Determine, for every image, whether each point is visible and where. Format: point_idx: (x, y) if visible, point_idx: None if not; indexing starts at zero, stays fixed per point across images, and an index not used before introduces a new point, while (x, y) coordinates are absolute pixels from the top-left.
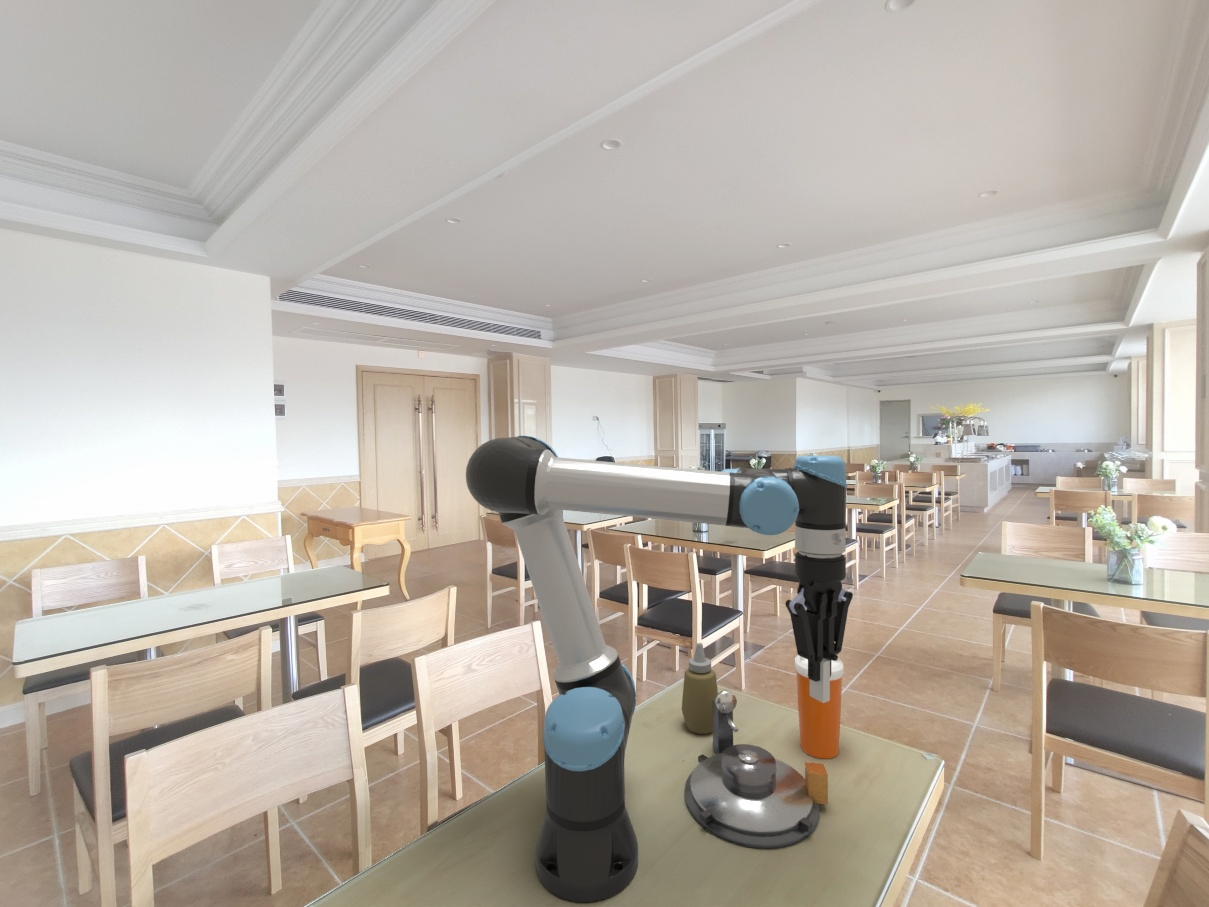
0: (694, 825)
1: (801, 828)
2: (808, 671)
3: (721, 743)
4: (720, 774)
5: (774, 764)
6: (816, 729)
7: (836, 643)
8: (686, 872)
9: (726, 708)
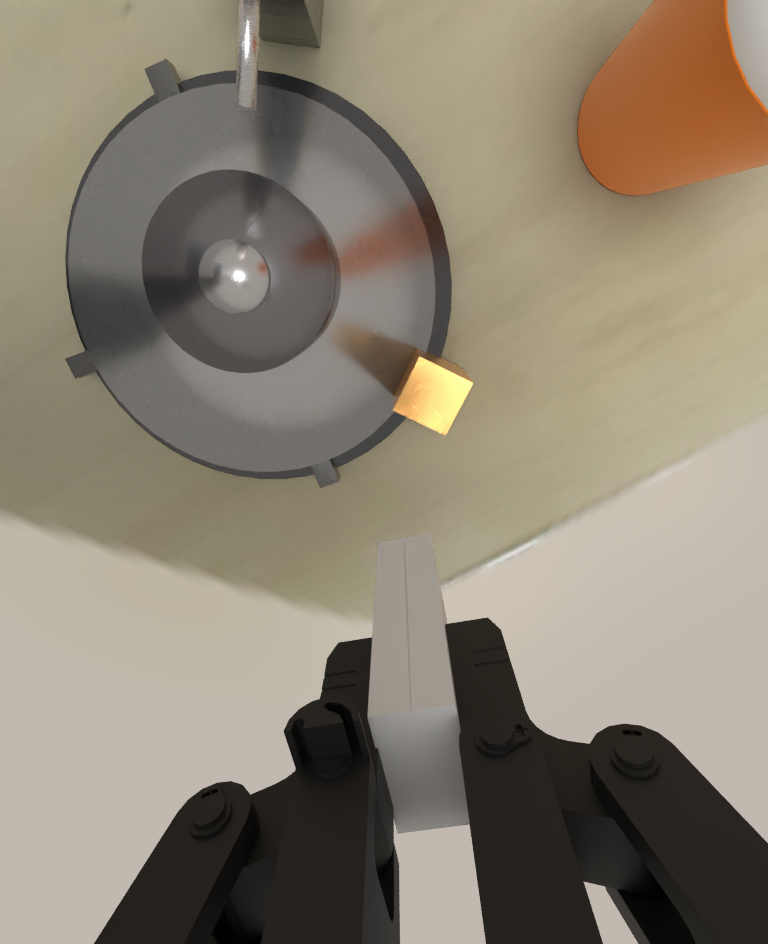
0: (76, 338)
1: None
2: (325, 684)
3: (261, 17)
4: None
5: (310, 336)
6: (628, 155)
7: (642, 937)
8: (20, 464)
9: None
